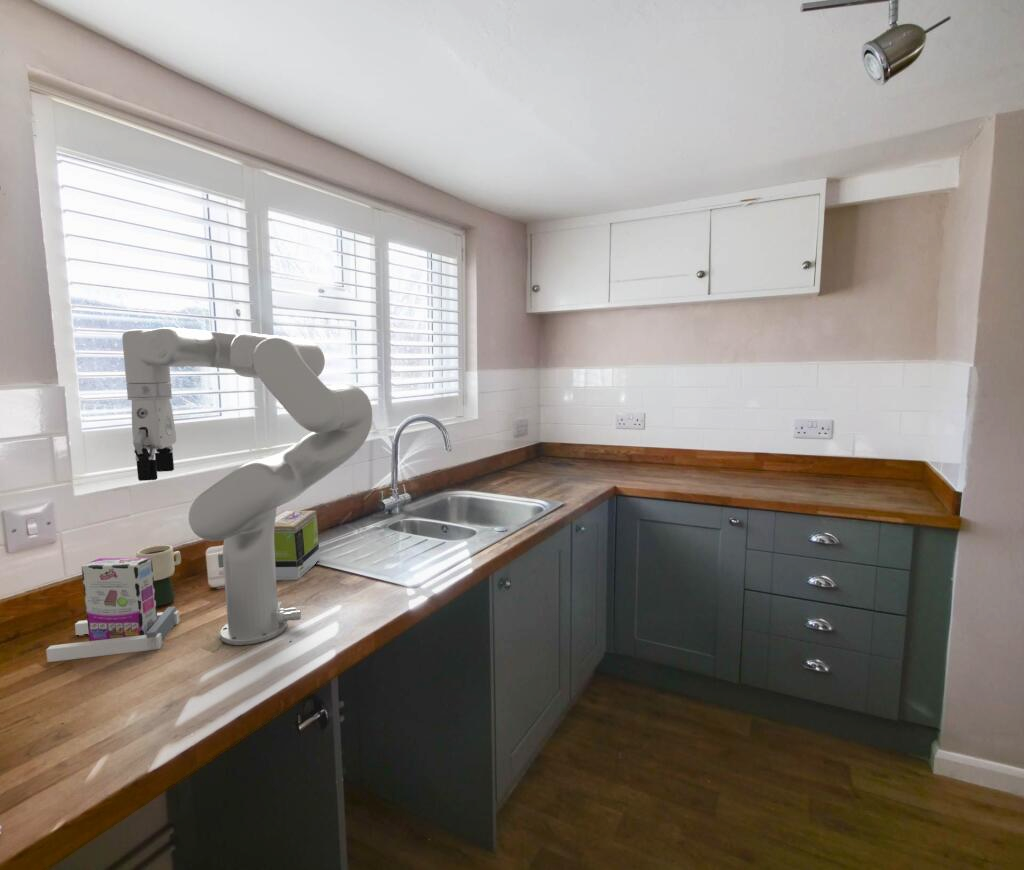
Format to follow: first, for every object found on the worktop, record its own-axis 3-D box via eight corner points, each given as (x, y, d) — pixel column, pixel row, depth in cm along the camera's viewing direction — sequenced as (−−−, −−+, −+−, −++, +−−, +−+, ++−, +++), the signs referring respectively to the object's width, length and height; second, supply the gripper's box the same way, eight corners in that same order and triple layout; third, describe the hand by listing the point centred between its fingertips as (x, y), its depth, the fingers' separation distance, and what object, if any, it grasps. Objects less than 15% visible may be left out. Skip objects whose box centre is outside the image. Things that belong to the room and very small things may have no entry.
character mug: (175, 592, 135) (171, 540, 133) (191, 598, 131) (187, 545, 129) (125, 609, 125) (120, 553, 124) (141, 616, 122) (136, 559, 120)
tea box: (286, 560, 157) (282, 509, 155) (320, 560, 156) (318, 509, 154) (259, 580, 142) (256, 524, 140) (298, 581, 141) (295, 525, 139)
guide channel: (179, 621, 119) (178, 606, 119) (159, 648, 107) (158, 631, 107) (79, 632, 114) (77, 616, 114) (47, 662, 103) (45, 644, 102)
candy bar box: (160, 633, 114) (153, 556, 112) (143, 646, 109) (136, 565, 107) (107, 633, 114) (99, 556, 112) (88, 645, 109) (79, 565, 107)
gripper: (154, 393, 104) (162, 482, 106) (184, 390, 121) (190, 467, 123) (109, 394, 102) (118, 485, 104) (145, 390, 119) (152, 469, 121)
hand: (157, 475), depth 114 cm, fingers open, 9 cm apart
